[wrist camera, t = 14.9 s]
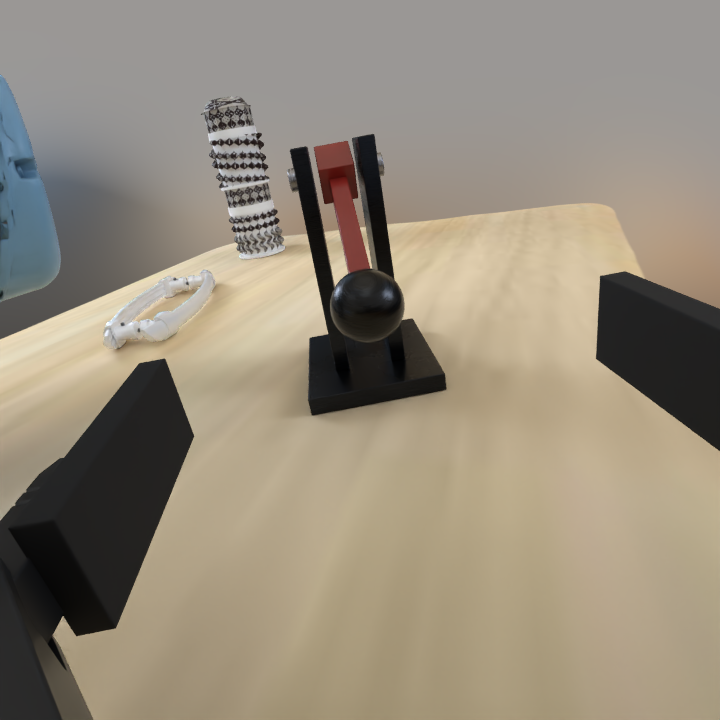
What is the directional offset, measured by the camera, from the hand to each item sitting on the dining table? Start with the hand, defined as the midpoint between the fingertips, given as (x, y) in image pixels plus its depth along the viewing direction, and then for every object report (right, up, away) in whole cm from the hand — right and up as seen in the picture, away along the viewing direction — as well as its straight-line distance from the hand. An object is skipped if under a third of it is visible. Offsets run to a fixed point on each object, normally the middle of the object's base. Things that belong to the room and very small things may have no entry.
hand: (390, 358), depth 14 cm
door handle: (-25, +6, +45) cm, 52 cm away
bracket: (0, -1, +22) cm, 22 cm away
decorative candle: (-19, +19, +73) cm, 77 cm away
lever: (-1, +6, +14) cm, 15 cm away
